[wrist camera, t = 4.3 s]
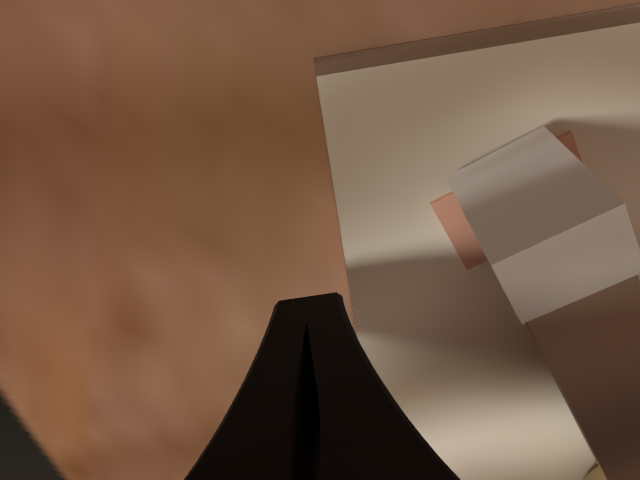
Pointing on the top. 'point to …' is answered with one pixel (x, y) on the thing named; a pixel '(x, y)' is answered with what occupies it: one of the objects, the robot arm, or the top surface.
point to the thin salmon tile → (459, 225)
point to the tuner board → (432, 240)
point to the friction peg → (566, 282)
